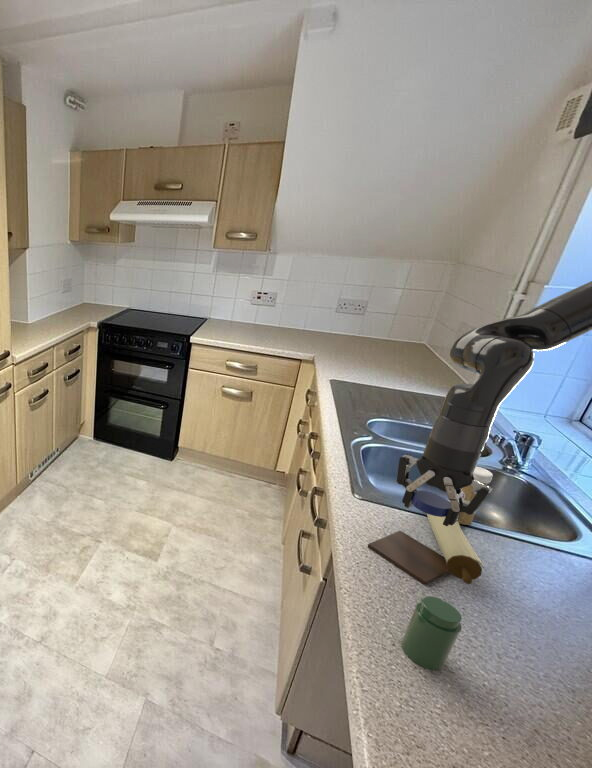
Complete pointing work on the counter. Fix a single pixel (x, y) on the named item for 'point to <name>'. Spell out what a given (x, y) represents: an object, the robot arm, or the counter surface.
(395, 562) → the coaster
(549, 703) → the counter surface
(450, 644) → the jar
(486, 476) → the sprinkles bottle
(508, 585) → the counter surface
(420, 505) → the lid
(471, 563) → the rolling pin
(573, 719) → the counter surface
